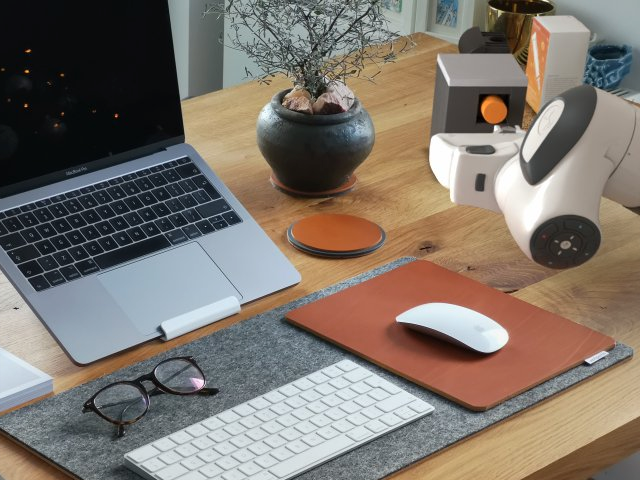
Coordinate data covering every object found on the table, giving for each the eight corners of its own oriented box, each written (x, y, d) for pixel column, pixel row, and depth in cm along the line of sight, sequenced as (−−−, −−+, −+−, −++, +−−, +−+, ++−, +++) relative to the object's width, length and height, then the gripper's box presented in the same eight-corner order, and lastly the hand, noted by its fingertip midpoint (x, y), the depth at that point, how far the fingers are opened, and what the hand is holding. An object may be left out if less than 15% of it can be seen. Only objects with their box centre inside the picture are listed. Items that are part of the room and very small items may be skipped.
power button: (501, 116, 144) (504, 94, 143) (505, 123, 142) (508, 101, 141) (478, 116, 144) (481, 94, 143) (482, 123, 142) (484, 101, 141)
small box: (521, 97, 174) (532, 15, 167) (560, 96, 174) (573, 14, 168) (537, 117, 167) (549, 32, 160) (578, 115, 168) (592, 30, 161)
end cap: (455, 65, 187) (459, 25, 184) (498, 66, 187) (503, 26, 183) (461, 85, 179) (466, 44, 175) (506, 86, 178) (511, 45, 175)
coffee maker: (499, 150, 156) (512, 53, 149) (514, 180, 148) (528, 79, 140) (428, 150, 156) (437, 53, 149) (439, 180, 148) (449, 79, 140)
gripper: (628, 152, 123) (594, 106, 135) (443, 152, 123) (425, 106, 135) (618, 203, 126) (586, 154, 138) (438, 203, 126) (421, 154, 138)
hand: (505, 131), depth 136 cm, fingers closed
